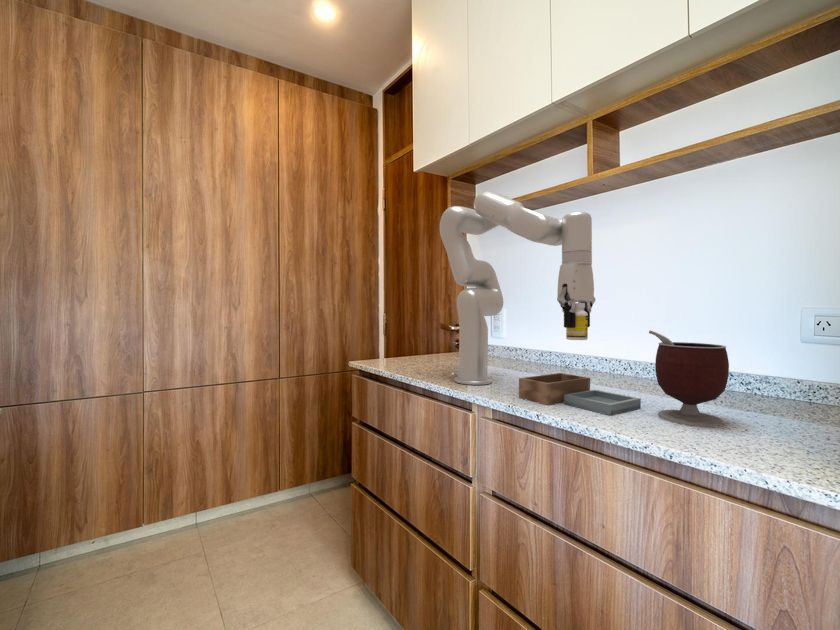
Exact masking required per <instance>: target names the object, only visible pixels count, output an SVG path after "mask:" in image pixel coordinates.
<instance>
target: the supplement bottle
mask: <svg viewBox="0 0 840 630" xmlns="http://www.w3.org/2000/svg"><path fill="white" fill-rule="evenodd" d="M569 305H570V304H569ZM584 309H585V303H578V302H576V303H575V308H574V312H573V313H575V316H576V326H575V328H565V331H566V332H565V339H566V340H570V341H587V340H588V337H589V336H588V335H589V333H588V331H589V330H588V329H589V327H588V314H587V312H585V311H584Z"/></svg>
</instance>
